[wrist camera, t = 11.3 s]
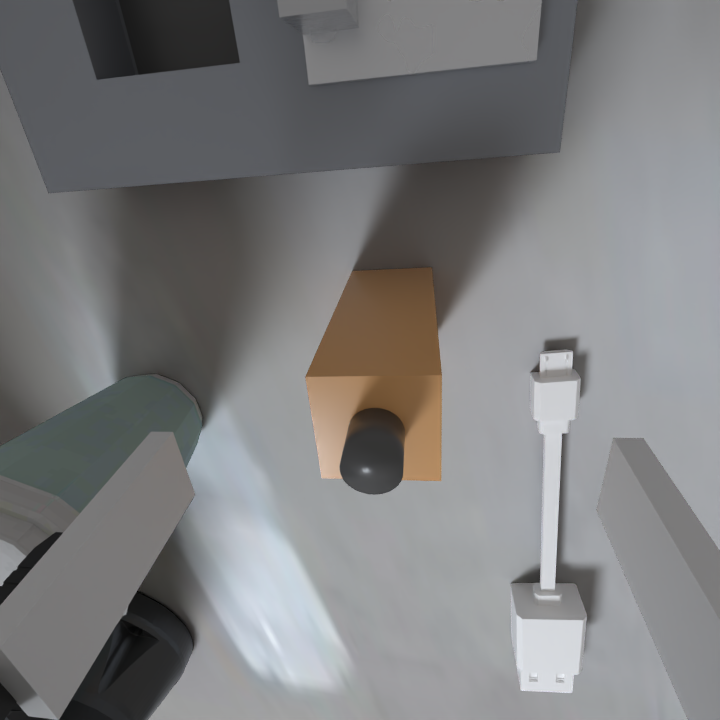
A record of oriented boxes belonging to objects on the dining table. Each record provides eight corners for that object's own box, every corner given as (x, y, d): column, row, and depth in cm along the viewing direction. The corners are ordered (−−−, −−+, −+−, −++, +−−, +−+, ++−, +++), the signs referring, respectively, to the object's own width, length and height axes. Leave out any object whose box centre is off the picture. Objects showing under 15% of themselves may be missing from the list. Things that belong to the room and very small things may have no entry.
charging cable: (592, 336, 27) (614, 360, 24) (568, 663, 40) (580, 704, 37) (505, 343, 28) (515, 368, 25) (510, 661, 41) (517, 701, 38)
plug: (358, 341, 27) (310, 519, 15) (352, 270, 25) (290, 411, 13) (432, 339, 27) (443, 524, 15) (431, 267, 25) (445, 410, 12)
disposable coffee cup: (102, 451, 35) (-92, 653, 21) (75, 327, 29) (-204, 493, 16) (234, 474, 34) (119, 695, 21) (230, 351, 29) (72, 543, 16)
